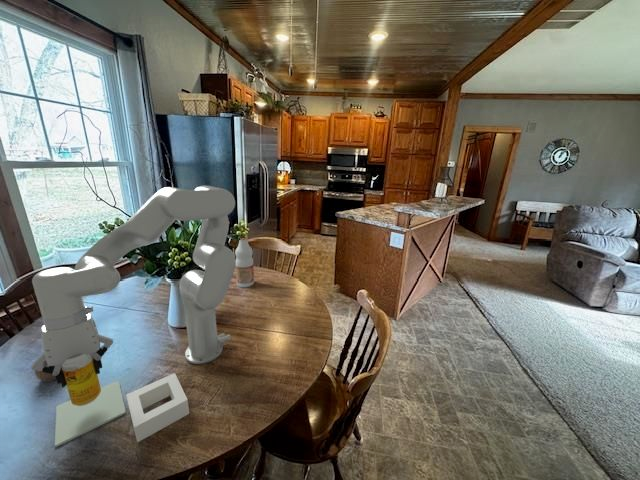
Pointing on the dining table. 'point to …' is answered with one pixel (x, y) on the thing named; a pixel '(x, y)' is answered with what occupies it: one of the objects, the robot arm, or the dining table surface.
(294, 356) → the dining table surface
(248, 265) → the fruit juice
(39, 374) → the vase
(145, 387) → the sleeve
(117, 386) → the mat
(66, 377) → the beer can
